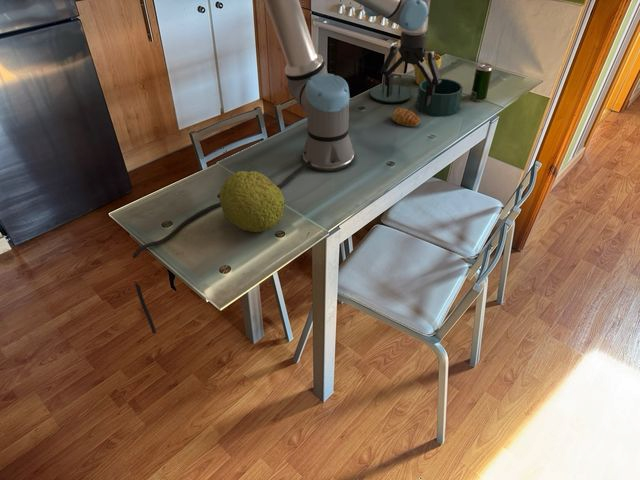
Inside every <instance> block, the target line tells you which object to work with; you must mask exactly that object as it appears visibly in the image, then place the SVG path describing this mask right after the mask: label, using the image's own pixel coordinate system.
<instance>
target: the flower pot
mask: <svg viewBox="0 0 640 480" xmlns="http://www.w3.org/2000/svg"><path fill="white" fill-rule="evenodd" d="M423 58H424V60H425V61H426V65H427V66H428V68H429V70H430V67H429V64H428V59H426V56H424V57H423ZM435 60H436V63H437V66H438V69H440V67H441V64H442V56H441V55H439V54H436V53H435ZM420 63H421V62H420ZM412 67H413V68H414V79H415V83H416V84H417V85H418V86H419V85H420V83H421V82H422V81H424V80H426V79H425V77H424V75H423V73H422V72H421V70H420V68H418V67H417V65H416V64H415V65H412ZM430 72H431V70H430Z"/></svg>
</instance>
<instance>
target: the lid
mask: <svg viewBox="0 0 640 480" xmlns="http://www.w3.org/2000/svg"><path fill="white" fill-rule="evenodd" d="M391 75H394V76H393V77H399V78H398V84H393V91H392V95H391V96H390V97H386V94H387V86H385V75H384V74H382V84H381V85H377V86H374V87H373V88H371V89H370V92H369V95H370V97H371V99H373V100H375V101H377V102H379V103H387V104H398V103H404V102H406V101H408V100H410V99H411V98H412V96H413V91H412V90H411V89H410V88H409V87H407V86H403V85H402V80H403V79H402V77H403V72H398V71H393V73H392V74H391Z"/></svg>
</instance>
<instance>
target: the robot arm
mask: <svg viewBox="0 0 640 480" xmlns="http://www.w3.org/2000/svg"><path fill="white" fill-rule="evenodd" d="M263 1H264V4H265V7H266V10H267V12H268V15H269V18H270V20H271V23H272V26H273V29H274V32H275V35H276V37H277V39H278V42H279V45H280V47H281V50H282V53H283V56H284V59H285V61H286V65H285V67H284V74H285V77H286V79H287V88H288V91H289V93H290V95H291V97H292V98H293V99H294V100H295V101H296V103H298V105H299V106H300V107H301V109H302V110H303V111H304V113H305V114H306V121H307V122H306V124H307V137H306V140H305V144H304V148H303V151H302V161H303V164H302V165H301V166H300V167H298V168H297V169H296V170H295V171H293V172H292V173H291V174H289V176H287V177H286V179H285V180H284V181H282V182H281V183H279V184H277V185H276V186H277V187H279V189H281V188H282V187H284V186H285V185H287V184H288V183H289V182H290V181H291V180H292V179H293V178H294V177H295V176H296V175H298V174H299V173H300V172H302V171H303V170H304V169H305V168H307V167H308V168H309V169H312V170H314V171H317V172H325V173H327V172H328V173H329V172H338V171H342V170H344V169H347V168H348V167H350V166H351V165H352V164H353V163H354V161H355V150H354V147H353V145H352V142H351V138H350V136H349V127H350V126H349V125H350V124H349V123H350V99H351V97H350V95H351V94H350V87H349V84H348V82H347V81H346V80H345V79H344V78H343V77H342V76H339V75H335V74H333V73H328V70H327V66H326V63H325V60H324V57H323V56H322V54H320V53H317V52H316V50H315V49H316V48H315V46H314V43H313V40H312V36H311V34H310V33H311V32H310V31H309V28H308V24H307V21H306V18H305V14H304V12H303V8H302V5H301V2H300V0H263ZM352 1H353V2H355V3H357V4H358V5H361V6H362V7H363V10H364V12H365V15H366V16H368V17H369V18H370V17H376V18H378V17H383V18H384V19H387V20H388V21H390V22H391V23H394V24H396V25H398V26H399V27H400V28H401V29H400V30H401V33H400V41H399V44H400V46H399V45H398V44H397V43H394V44H392V45H391V46H390V48H389V53H388V54H387V57H386V59H385V60H384V62H383V64H382V67H381V68H380V70H379V74H381V75H383V74H384V75H385V86H387V94H386V97H390V96H391V95H392V91H393V85H394V77H395V76H394V75H391V74H392V73H393V72H395V71H396V69H398V68H399V67H400V65H402V63H403V62H404V63H405V64H409V65H412V66H413V65H415V64H416V65H417V67H418V68H420V70H421V72H422V73H423V75H424V77H425V79H426V80H427V82H428V85H427V87H426V95H425V104H424V106H428V105H429V104H430V100H431V96H432V95H433V94H434V90H435V85H439V84H440V83H441V82H442V79H443V78H442V76H441V73H440V70H439V68H438V66H437V63H436V60H435V54H436V51H435V50H433V49H432V50H430V51H429V50H426V46H427V45H426V44H427V35H428V34H427V31H428V24H429V14H430V7H431V6H430V5H431V0H352ZM397 53H399V55H400V57H399V58H398V59H397V60H396V61H395V62H394V64H393V65H391V64H392V62H393V59H394V58H395V56H396V54H397ZM424 56H426V59H428V64H429V67H430V70H431V72H430V70H429V68H428V66H427V65H426V61H425V60H424V58H423V57H424ZM420 62H421V63H420ZM390 65H391V67H390ZM389 67H390V68H389ZM441 78H442V79H441ZM220 207H221V205H220V201H219V202H216V203H214V204H212V205H210V206H208V207H205V208H203V209H202V210H200V211H198V212H196V213H195V214H193V215H192V216H189V218H187V219H185V220H184V221H182V222H181V223H180V224H179V225H178V226H177V227H176V228H175V229H174V230H172V231H171V232H170V233H169V234H167V235H166V236H164V237H163V238H161V239H159V240H155V241H151V242H148V243H145V244H142V245H141V246H139V247H138V248H137V249H136V250H135V251H134V253H133V255H132V259H136V258H137V257H138V256H139V255H140V254H141V252H142V251H144V250H146V249H149V248H152V247H154V246H158V245H161V244H164V243H165V242H167V241H169V240H170V239H171V238H173V237H174V236H175V235H177V233H179V232H180V231H181V230H182V229H183V228H184V227H185V226H187V225H188V224H189V223H191V222H192V221H194V220H195V219H197V218H198V217H200V216H202V215H204V214H206V213H207V212H210V211H212V210H214V209H216V208H220ZM134 284H135V285H134V286H135V290H136V293H137V297H138V299H139V302H140V305H141V307H142V310H143V313H144V315H145V317H146V319H147V321H148V324H149V327H150V330H151V333H152V334H153V335H155V334H156V333H157V330H156V327H155V324H154V321H153V319H152V316H151V314H150V312H149V309H148V307H147V305H146V301H145V299H144V296H143V293H142V288H141V285H140V284H138V283H136V282H134Z"/></svg>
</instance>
